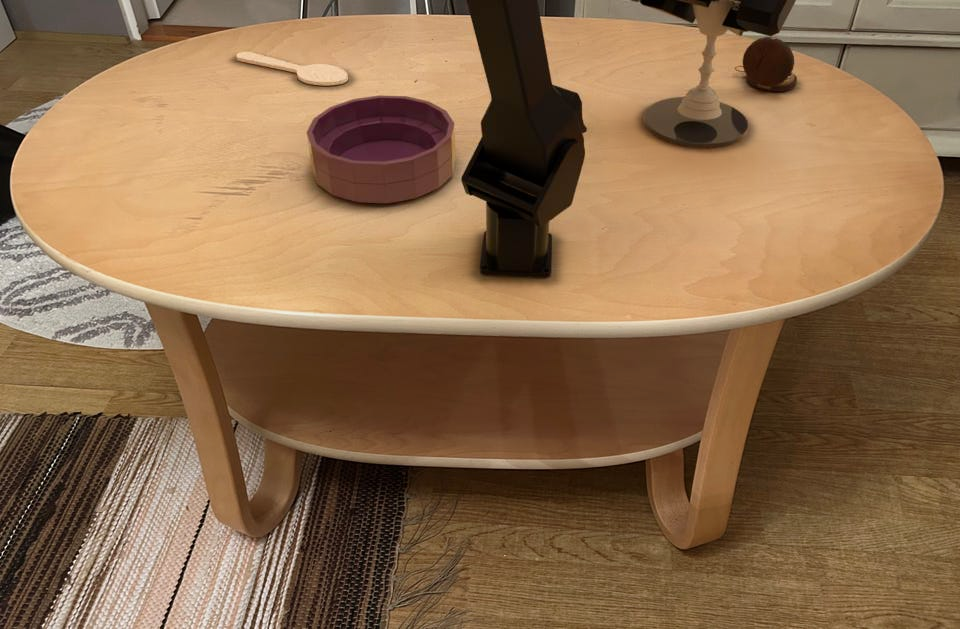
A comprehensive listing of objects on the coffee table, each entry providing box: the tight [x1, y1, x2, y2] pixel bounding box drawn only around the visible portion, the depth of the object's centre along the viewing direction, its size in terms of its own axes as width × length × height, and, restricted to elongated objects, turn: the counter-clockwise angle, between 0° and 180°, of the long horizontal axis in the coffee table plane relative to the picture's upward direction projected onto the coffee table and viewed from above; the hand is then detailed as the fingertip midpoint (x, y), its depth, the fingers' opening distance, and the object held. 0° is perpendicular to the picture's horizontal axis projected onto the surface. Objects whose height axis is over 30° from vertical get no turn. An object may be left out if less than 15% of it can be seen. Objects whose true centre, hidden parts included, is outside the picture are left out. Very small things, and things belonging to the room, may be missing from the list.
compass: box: [734, 34, 798, 92], centre depth 100 cm, size 8×8×7 cm
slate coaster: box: [643, 96, 749, 149], centre depth 94 cm, size 12×12×1 cm
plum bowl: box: [306, 94, 456, 204], centre depth 85 cm, size 15×15×5 cm
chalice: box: [677, 0, 732, 120], centre depth 87 cm, size 7×7×18 cm
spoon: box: [235, 51, 349, 86], centre depth 106 cm, size 5×18×1 cm, turn 62°
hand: (717, 25), depth 88 cm, fingers closed on chalice, 5 cm apart
